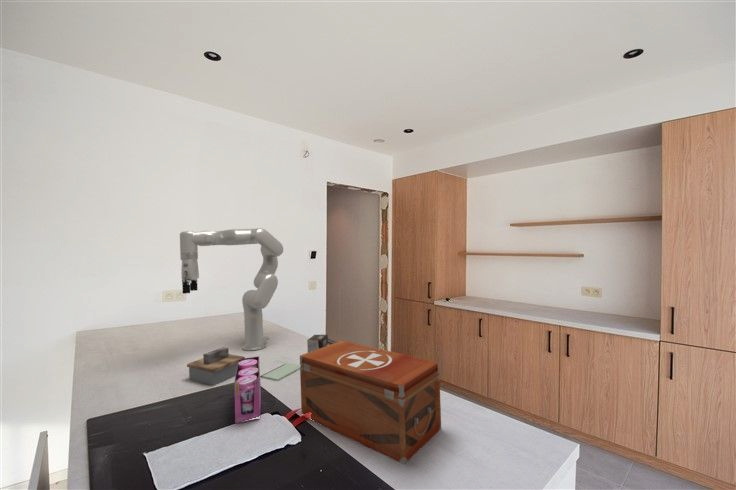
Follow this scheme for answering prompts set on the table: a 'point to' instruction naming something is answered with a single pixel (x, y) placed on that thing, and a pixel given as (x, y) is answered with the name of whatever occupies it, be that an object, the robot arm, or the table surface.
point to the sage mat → (281, 371)
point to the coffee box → (317, 342)
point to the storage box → (213, 375)
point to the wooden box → (373, 396)
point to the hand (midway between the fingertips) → (190, 291)
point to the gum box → (247, 389)
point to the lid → (215, 360)
